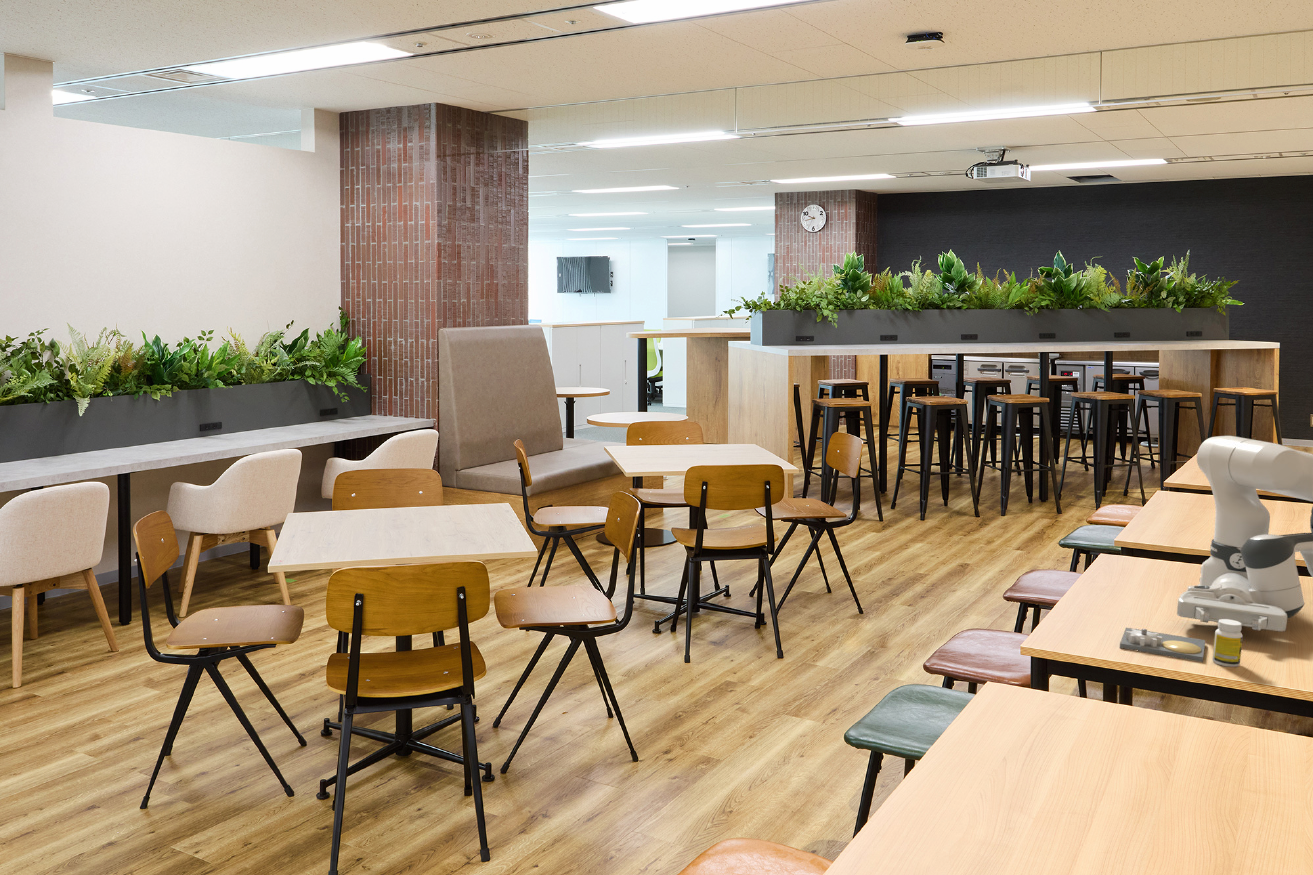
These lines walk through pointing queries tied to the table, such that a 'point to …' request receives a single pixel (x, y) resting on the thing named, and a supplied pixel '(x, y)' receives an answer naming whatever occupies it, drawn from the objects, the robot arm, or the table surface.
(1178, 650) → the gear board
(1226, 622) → the supplement bottle
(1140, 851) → the table surface
